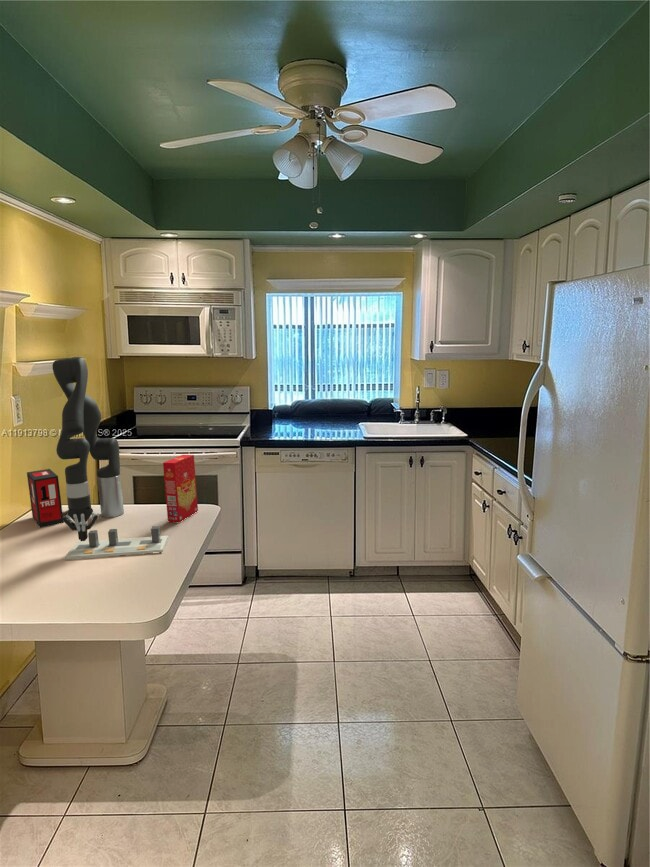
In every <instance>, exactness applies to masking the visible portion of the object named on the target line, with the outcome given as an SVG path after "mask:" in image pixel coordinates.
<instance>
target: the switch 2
mask: <svg viewBox="0 0 650 867" xmlns="http://www.w3.org/2000/svg"><path fill="white" fill-rule="evenodd" d="M160 530H161V529H160V525H153V526H152V527H151V528H150V531H151V532H150V533H151V537H152V542H159V541H160V536H161V535H160V534H161V532H160Z"/></svg>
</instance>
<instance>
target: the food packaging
mask: <svg viewBox="0 0 650 867" xmlns="http://www.w3.org/2000/svg"><path fill="white" fill-rule="evenodd" d="M162 466H163V468H162V469H163V478H164V479H163V481H164V492H165V502H166V504H165V505H166V516H167V522H168V521H169V522H168V523H173V522H180V523H182V522H183V521H185V520H186V519H185V518H187V517H189V516H190V515H192V514H194V513H195V512H197V511H198V512H199V507H198V506H199V505H198V494H197V492H198V491H197V479H196V465H195V455H194V454H180V455H178V456H176V457H173V458H171V459H169V460H166V461H163V462H162ZM198 512H197V513H198ZM195 514H196V513H195ZM195 514H194V515H195ZM192 516H193V515H192ZM190 517H191V516H190ZM190 517H189V518H190ZM184 519H185V520H184ZM187 519H188V518H187ZM182 520H183V521H182ZM181 521H182V522H181Z"/></svg>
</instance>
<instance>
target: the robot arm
mask: <svg viewBox="0 0 650 867" xmlns="http://www.w3.org/2000/svg"><path fill="white" fill-rule="evenodd" d="M52 372H53V375H54V378H55V380H56V382H57V383H58V386H59V387H60V389H61V390H62V393H63V394H64V396H65V397H66V399H67V400H66V402H65V404H64V405H63V408H62V412H61V425H62V426H61V431H60V436H59V439H58V442H57V445H56V454H57V457H58V458H59V459H60V460H75V459H79V460H78V462H76V463H74V464H70V465H68V466H66V467H65V469H64V476H65V477H64V478H65V485H66V486H65V494H66V500H67V509H68V510H67V514H66V515H64V516H63V518H62V521H63V522H64V523H65V525H66V526H68V528H69V529H70V530H72V531H76V532H77V537H78V540H79V542H84V541H87V539H89V537H88V533H89V532H88V530H90V529H92V527H93V526H94V524H95V523H96V522H97V520H98V519H99V517H100V516H101V517H102V516H103V517H102V518H115V517H119V516H121V515H123V514H124V513H125V509H124V499H123V489H122V479H121V478H122V477H121V462H120V461H121V459H120V446H119V442H118V440H117V438H114V437H113V438H112V437H106V438H101V437H98V435H97V430H98V429H99V426H100V424H101V421H102V414H101V411H100V407H99V406H98V404H97V402H96V400H95V399H94V398H92V397H91V396H90V395H88V394H87V386H88V378H89V375H88V374H89V372H88V366H87V363H86V360H85V358H83V357H82V356H81V357H80V356H74V357H73V356H72V357H67V358H60V359H59V358H58V359H57V360H54V361H53V362H52ZM74 383H75V384H74ZM81 434H83V436H84V437H78V438H72V437H76V436H78V435H81ZM89 455H90V456H91V458H92V459H93V460H95V461H108V464H106V466H102V467H100V468H99V469H97V470H96V477H97V478H96V480H97V487H98V488H97V489H98V496H99V505H100V506H99V507H100V513H96V512H94V510H93V508H92V502H91V501H92V500H91V493H90V485H89V481H88V479H89V478H88V472H87V470H88V469H87V466H88V458H89ZM90 518H91V520H90V522H89V523H88V520H89V519H90ZM71 519H72V520H71Z"/></svg>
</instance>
